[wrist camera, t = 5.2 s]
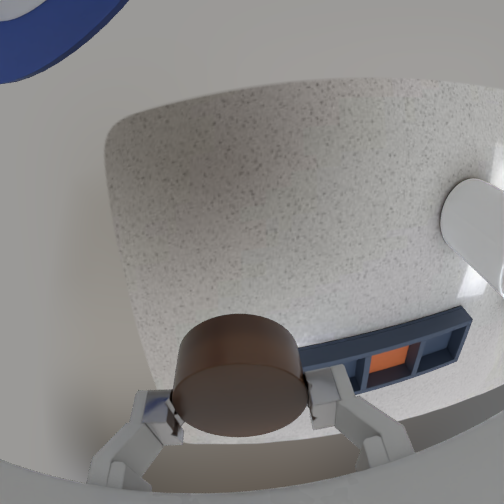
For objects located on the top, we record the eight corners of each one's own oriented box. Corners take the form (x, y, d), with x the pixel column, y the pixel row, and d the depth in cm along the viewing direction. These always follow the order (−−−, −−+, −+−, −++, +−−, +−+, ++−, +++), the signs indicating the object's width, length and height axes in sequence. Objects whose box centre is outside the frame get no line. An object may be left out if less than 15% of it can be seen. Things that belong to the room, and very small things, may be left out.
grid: (296, 348, 34) (301, 367, 32) (461, 305, 34) (472, 319, 31) (300, 388, 38) (304, 406, 35) (447, 347, 38) (456, 361, 35)
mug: (505, 231, 29) (559, 274, 20) (464, 277, 32) (513, 329, 22) (474, 160, 25) (546, 195, 16) (425, 214, 27) (489, 267, 18)
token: (162, 322, 12) (150, 371, 9) (293, 303, 11) (306, 351, 9) (197, 398, 14) (194, 441, 12) (300, 384, 14) (310, 427, 12)
